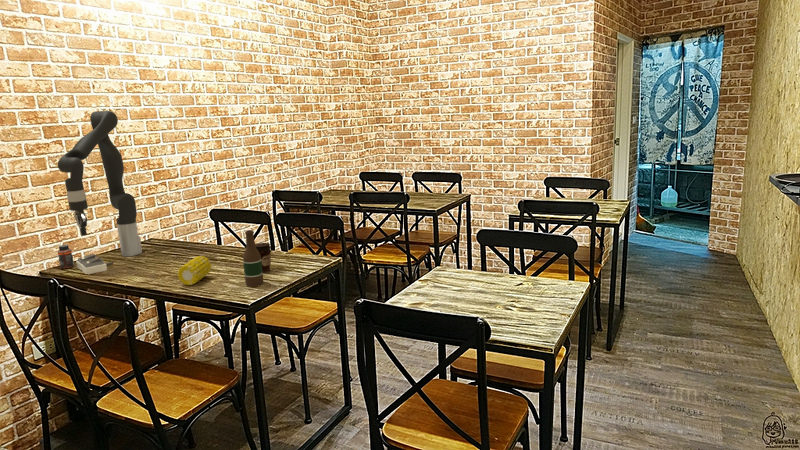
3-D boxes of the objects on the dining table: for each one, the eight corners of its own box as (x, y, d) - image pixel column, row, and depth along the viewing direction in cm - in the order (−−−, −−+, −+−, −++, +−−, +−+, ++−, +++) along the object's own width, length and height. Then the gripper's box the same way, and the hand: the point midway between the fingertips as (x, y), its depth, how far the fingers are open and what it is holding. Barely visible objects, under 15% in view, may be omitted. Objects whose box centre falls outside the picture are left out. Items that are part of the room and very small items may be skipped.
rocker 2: (98, 258, 261) (97, 256, 260) (101, 260, 258) (99, 257, 257) (86, 264, 258) (84, 262, 257) (88, 266, 254) (87, 264, 254)
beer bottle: (247, 281, 236) (241, 229, 230) (265, 280, 236) (260, 228, 231) (243, 287, 228) (238, 233, 223) (262, 286, 229) (256, 232, 223)
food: (194, 288, 230) (191, 265, 227) (173, 285, 234) (170, 263, 232) (218, 276, 244) (215, 255, 241) (198, 274, 248) (195, 253, 245)
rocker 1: (93, 255, 267) (92, 253, 267) (96, 257, 264) (94, 254, 264) (80, 260, 264) (79, 258, 263) (83, 262, 261) (82, 259, 260)
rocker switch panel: (107, 260, 274) (106, 252, 273) (118, 267, 261) (116, 258, 260) (77, 266, 265) (75, 258, 264) (86, 274, 252) (84, 265, 251)
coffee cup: (277, 269, 252) (274, 242, 249) (267, 274, 244) (264, 247, 241) (261, 267, 255) (258, 241, 252) (251, 273, 247) (248, 246, 244)
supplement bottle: (77, 265, 267) (73, 243, 265) (69, 269, 262) (64, 247, 259) (66, 265, 268) (62, 243, 265) (57, 269, 262) (53, 247, 260)
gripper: (90, 200, 249) (96, 235, 253) (82, 196, 258) (88, 231, 262) (71, 202, 244) (79, 239, 248) (64, 199, 253) (71, 234, 257)
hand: (83, 234), depth 255 cm, fingers closed
